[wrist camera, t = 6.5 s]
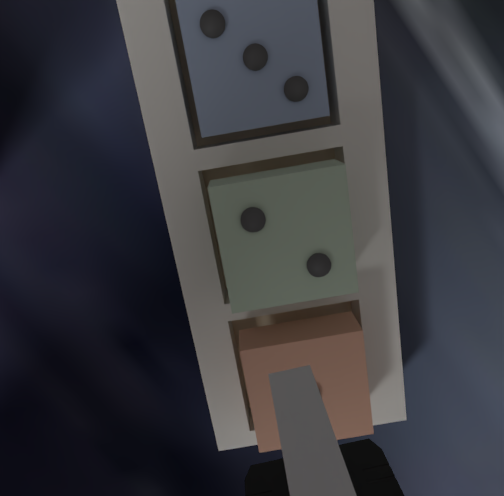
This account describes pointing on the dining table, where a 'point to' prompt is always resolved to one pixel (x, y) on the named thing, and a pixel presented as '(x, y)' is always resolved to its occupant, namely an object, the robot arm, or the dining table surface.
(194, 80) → the tile three
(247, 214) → the tile two
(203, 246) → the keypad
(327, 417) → the robot arm
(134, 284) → the dining table surface
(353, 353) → the tile one
